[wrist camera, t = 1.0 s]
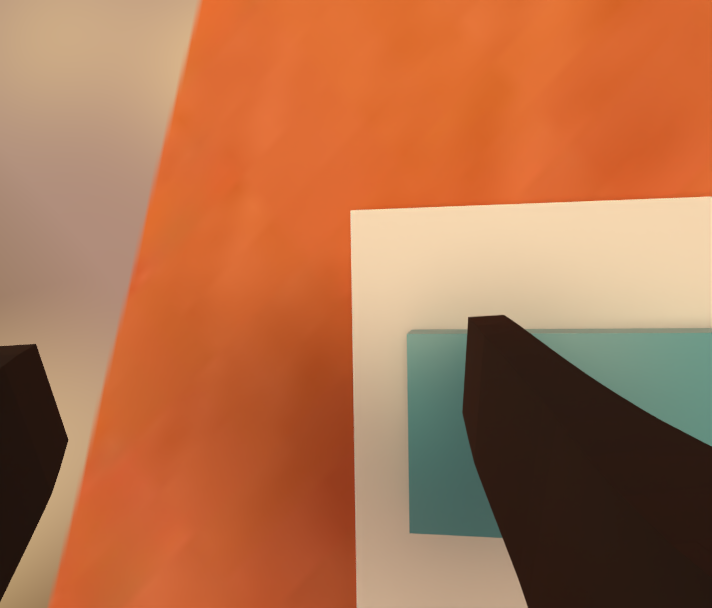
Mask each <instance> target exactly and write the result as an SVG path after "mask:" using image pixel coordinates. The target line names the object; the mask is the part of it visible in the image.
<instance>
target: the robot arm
mask: <svg viewBox="0 0 712 608" xmlns="http://www.w3.org/2000/svg"><path fill="white" fill-rule="evenodd" d="M462 414H463V418H464V422H465V427H466V431H467V436H468V440H469V444H470V448H471V452H472V456H473V460H474V464H475V467H476V469H477V472H478V475H479V478H480V480H481V483H482V486H483V488H484V491H485V494H486V496H487V499H488V501H489V504H490V507H491V509H492V512H493V515H494V517H495V520H496V522H497V525H498V528H499V530H500V533H501V535H502V538H503V541H504V543H505V546H506V548H507V551H508V554H509V556H510V559H511V561H512V564H513V567H514V569H515V572H516V574H517V577H518V580H519V583H520V586H521V589H522V592H523V595H524V598H525V601H526V603H527V606H528V608H712V446H710V445H708V444H706V443H704V442H702V441H700V440H698V439H696V438H694V437H692V436H691V435H689V434H687V433H685V432H683V431H681V430H679V429H677V428H675V427H673V426H671V425H669V424H668V423H666V422H664V421H662V420H660V419H658V418H657V417H655V416H653V415H651V414H650V413H648V412H646V411H644V410H643V409H641V408H639V407H638V406H636V405H634V404H633V403H631V402H630V401H628V400H626V399H625V398H623V397H621V396H620V395H618V394H617V393H615V392H613V391H612V390H610V389H609V388H607V387H606V386H604V385H602V384H601V383H599V382H598V381H596V380H595V379H593V378H592V377H590V376H589V375H587V374H586V373H585V372H583V371H582V370H580V369H579V368H577V367H576V366H574V365H573V364H572V363H570V362H569V361H567V360H566V359H565V358H563V357H562V356H560V355H559V354H558V353H556V352H555V351H554V350H552V349H551V348H549V347H548V346H547V345H545V344H544V343H543V342H541V341H540V340H539V339H537V338H536V337H535V336H533V335H532V334H531V333H529V332H528V331H526V330H525V329H524V328H522V327H521V326H520V325H518V324H517V323H515V322H514V321H513V320H511V319H510V318H508V317H507V316H505V315H492V316H477V317H468V328H467V345H466V361H465V377H464V393H463V410H462ZM67 442H68V437H67V435H66V432H65V429H64V426H63V423H62V420H61V417H60V414H59V411H58V408H57V405H56V402H55V399H54V396H53V393H52V390H51V387H50V384H49V381H48V379H47V375H46V372H45V370H44V366H43V364H42V361H41V358H40V355H39V352H38V349H37V346H36V344H30V345H14V346H0V601H1V599H2V597H3V595H4V593H5V591H6V589H7V587H8V584H9V582H10V580H11V578H12V576H13V574H14V572H15V570H16V568H17V566H18V564H19V562H20V560H21V558H22V556H23V554H24V552H25V549H26V547H27V545H28V543H29V541H30V539H31V537H32V535H33V533H34V530H35V528H36V526H37V524H38V522H39V520H40V518H41V516H42V514H43V512H44V510H45V507H46V505H47V503H48V501H49V498H50V496H51V494H52V491H53V488H54V485H55V482H56V479H57V476H58V473H59V470H60V467H61V463H62V460H63V456H64V453H65V449H66V446H67Z"/></svg>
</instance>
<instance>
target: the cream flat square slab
mask: <svg viewBox="0 0 712 608" xmlns="http://www.w3.org/2000/svg"><path fill="white" fill-rule="evenodd" d="M350 211H351V274H352V337H353V400H354V463H355V526H356V589H357V608H528V606H527V603H526V601H525V598H524V595H523V592H522V589H521V586H520V583H519V580H518V577H517V574H516V572H515V569H514V567H513V564H512V561H511V559H510V556H509V554H508V551H507V548H506V546H505V543H504V541H503V538H492V537H472V536H453V535H433V534H413V533H409V463H408V392H407V333H408V332H410V331H411V330H427V329H467V328H468V317H477V316H492V315H505V316H507V317H508V318H510V319H511V320H513V321H514V322H515V323H517V324H518V325H520V326H521V327H522V328H524V329H630V328H712V197H688V198H662V199H636V200H610V201H583V202H557V203H531V204H505V205H478V206H452V207H426V208H400V209H373V210H350Z"/></svg>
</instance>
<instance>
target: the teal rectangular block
mask: <svg viewBox="0 0 712 608" xmlns="http://www.w3.org/2000/svg"><path fill="white" fill-rule="evenodd" d="M525 330H526V331H528V332H529V333H531V334H532V335H533V336H535V337H536V338H537V339H539V340H540V341H541V342H543V343H544V344H545V345H547V346H548V347H549V348H551V349H552V350H554V351H555V352H556V353H558V354H559V355H560V356H562V357H563V358H565V359H566V360H567V361H569V362H570V363H572V364H573V365H574V366H576V367H577V368H579V369H580V370H582V371H583V372H585V373H586V374H587V375H589V376H590V377H592V378H593V379H595V380H596V381H598V382H599V383H601V384H602V385H604V386H606V387H607V388H609V389H610V390H612V391H613V392H615V393H617V394H618V395H620V396H621V397H623V398H625V399H626V400H628V401H630V402H631V403H633V404H634V405H636V406H638V407H639V408H641V409H643V410H644V411H646V412H648V413H650V414H651V415H653V416H655V417H657V418H658V419H660V420H662V421H664V422H666V423H668V424H669V425H671V426H673V427H675V428H677V429H679V430H681V431H683V432H685V433H687V434H689V435H691V436H692V437H694V438H696V439H698V440H700V441H702V442H704V443H706V444H708V445H710V446H712V328H630V329H525ZM466 345H467V329H427V330H411V331H410V332H408V333H407V392H408V463H409V533H413V534H433V535H453V536H472V537H492V538H502V535H501V533H500V530H499V528H498V525H497V522H496V520H495V517H494V515H493V512H492V509H491V507H490V504H489V501H488V499H487V496H486V494H485V491H484V488H483V486H482V483H481V480H480V478H479V475H478V472H477V469H476V467H475V464H474V460H473V456H472V452H471V448H470V444H469V440H468V436H467V431H466V427H465V422H464V418H463V414H462V410H463V393H464V377H465V361H466Z"/></svg>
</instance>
